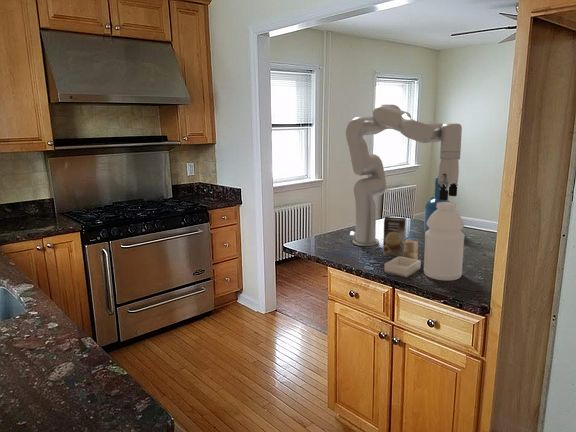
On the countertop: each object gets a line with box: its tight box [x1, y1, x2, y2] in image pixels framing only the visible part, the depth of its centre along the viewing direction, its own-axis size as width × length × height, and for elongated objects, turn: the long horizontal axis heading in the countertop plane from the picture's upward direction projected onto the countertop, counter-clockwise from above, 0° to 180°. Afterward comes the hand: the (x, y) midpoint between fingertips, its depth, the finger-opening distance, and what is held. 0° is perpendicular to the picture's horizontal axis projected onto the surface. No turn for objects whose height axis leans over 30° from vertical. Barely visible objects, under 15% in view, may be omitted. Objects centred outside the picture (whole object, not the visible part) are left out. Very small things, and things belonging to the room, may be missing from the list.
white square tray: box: [384, 256, 422, 278], centre depth 171 cm, size 10×12×4 cm
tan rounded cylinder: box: [403, 239, 419, 260], centre depth 180 cm, size 4×4×9 cm
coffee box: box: [382, 216, 407, 257], centre depth 190 cm, size 9×6×16 cm
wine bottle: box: [423, 174, 450, 233], centre depth 220 cm, size 14×13×30 cm
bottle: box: [423, 201, 466, 282], centre depth 163 cm, size 14×14×28 cm
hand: (448, 197), depth 174 cm, fingers open, 9 cm apart
